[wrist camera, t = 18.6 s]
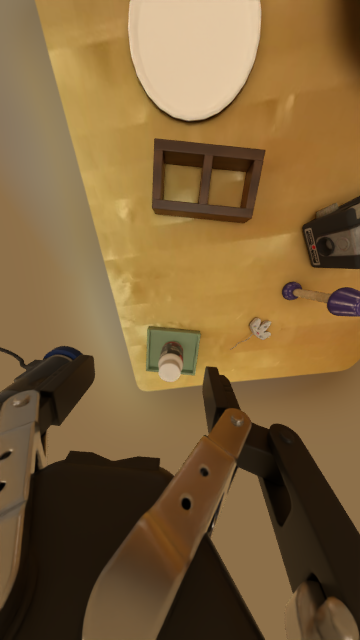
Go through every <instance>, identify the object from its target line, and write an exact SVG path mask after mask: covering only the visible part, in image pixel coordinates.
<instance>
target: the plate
mask: <svg viewBox="0 0 360 640" xmlns="http://www.w3.org/2000/svg"><path fill="white" fill-rule="evenodd" d="M260 27H261V5H260V0H130V5H129V20H128V34H129V43H130V52H131V56H132V60H133V63H134V66H135V70H136V73H137V76H138V78H139V80H140V82H141V84H142V86H143V88H144V90H145V92H146V93H147V95H148V96H149V97H150V99H151V100H152V101H153V102H154V103H155V104H156V105H157V107H158V108H159V109H161V110H162V111H164V112H165V113H167V114H168V115H170V116H172V117H173V118H177V119H181V120H185V121H198V120H205V119H207V118H209V117H211V116H213V115H216V114H218V113H219V112H221V111H222V110H223V109H224V108H225V107H226V106H228V105H229V104H230V103H231V102H232V101H233V100H234V98H235V97H236V96H237V94H238V93H239V91H240V90H241V89H242V87H243V86H244V84H245V82H246V80H247V78H248V75H249V73H250V71H251V68H252V66H253V64H254V61H255V57H256V52H257V48H258V44H259V40H260Z"/></svg>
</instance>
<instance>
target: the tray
mask: <svg viewBox="0 0 360 640" xmlns="http://www.w3.org/2000/svg"><path fill="white" fill-rule="evenodd" d="M200 335H201V334H200V331H193V330H182V329H172V328H161V327H150V326H149V328H148V330H147V360H146V371H151V372H159V367H158V362H159V358H160V354H161V351H162V348H163V346H164V345H165V344H166V343H167V342H171V341H174V342H177V343H179V344H180V345H181V346H182V348H183V368H182V371H181V374H184V375H195V371H196V364H197V356H198V349H199V342H200Z"/></svg>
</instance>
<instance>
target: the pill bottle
mask: <svg viewBox="0 0 360 640" xmlns="http://www.w3.org/2000/svg"><path fill="white" fill-rule="evenodd" d="M158 367H159V376H160V378H161V379H163V380H164V381H167V382H173V381H176V380H177V379H178V378H179V377H180V374H181V371H182V368H183V348H182V346H181V345H180V344H179V343H177V342H174V341H171V342H167V343H166V344H165V345H164V346H163V348H162V351H161V354H160V358H159V362H158Z"/></svg>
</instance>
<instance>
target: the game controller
mask: <svg viewBox="0 0 360 640" xmlns="http://www.w3.org/2000/svg"><path fill="white" fill-rule="evenodd" d="M260 323H261V320H260V319H258V318H255V319H254V320H253V321H252V322H251V324H250V329H251V331H252V333H253V334H254V335H255V336H256V337H258V338H260V339H262V340H264V339H266V338H268V337H269V336H270V335H271V333H270V332H268V331H266V330H267V328H268V327H269V326H270V325H271V322H270V321H267V320H266V321H264V322H262V323H261V324H260ZM251 336H252V335H251ZM251 336H250V337H251ZM250 337H249V338H250ZM249 338H248V339H249ZM245 341H246V340H245ZM241 342H242V341H241ZM243 342H244V341H243ZM239 343H240V342H239ZM235 347H236V346H235ZM233 348H234V347H233ZM233 348H232V349H233Z"/></svg>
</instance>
